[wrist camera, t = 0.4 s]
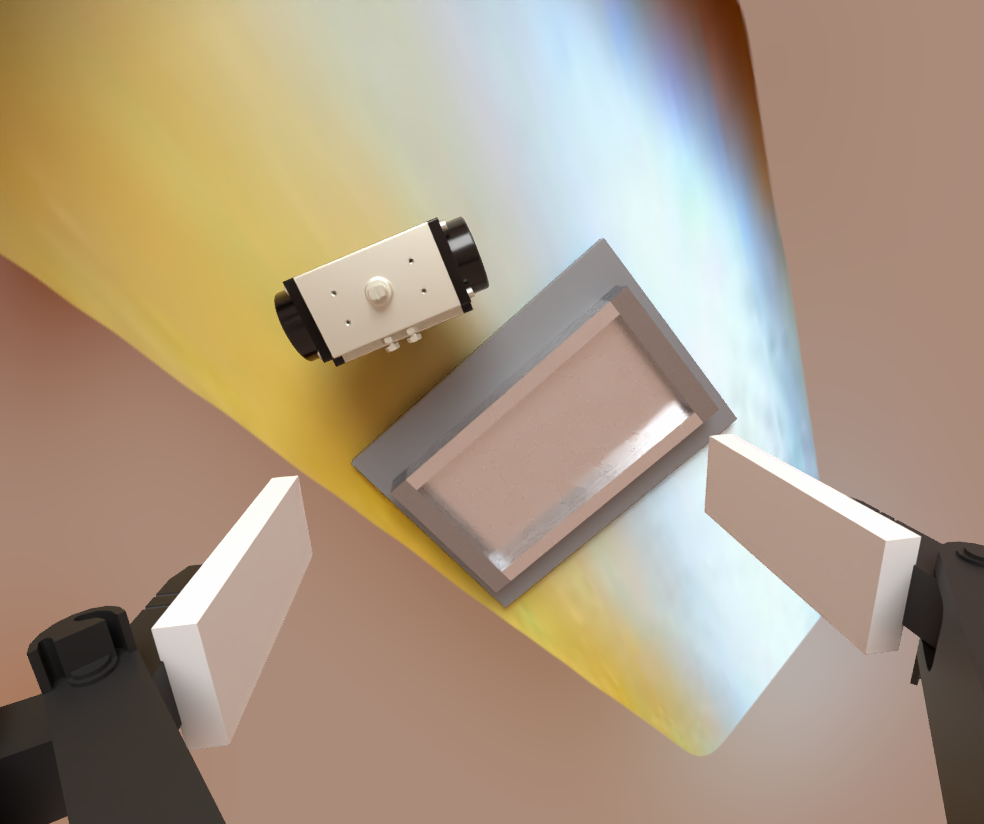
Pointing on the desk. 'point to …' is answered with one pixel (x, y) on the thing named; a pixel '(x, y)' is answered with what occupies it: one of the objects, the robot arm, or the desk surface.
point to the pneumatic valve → (382, 293)
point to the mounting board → (499, 364)
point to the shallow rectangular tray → (556, 440)
